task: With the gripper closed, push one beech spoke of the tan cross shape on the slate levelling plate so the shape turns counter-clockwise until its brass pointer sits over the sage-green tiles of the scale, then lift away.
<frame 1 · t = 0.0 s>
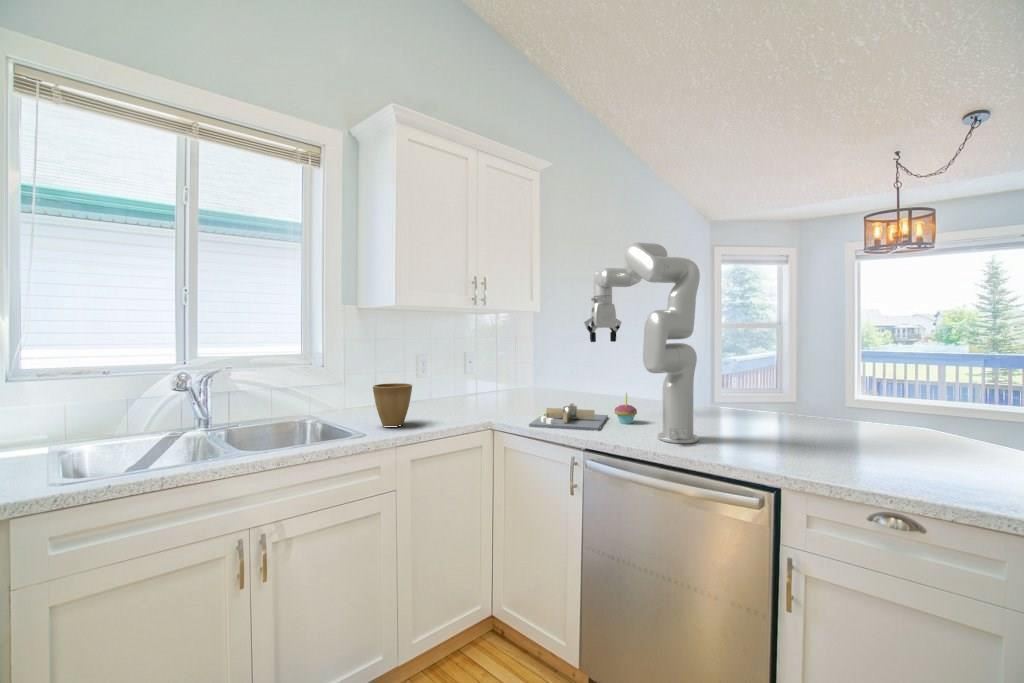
hand: (603, 341, 195), 31 cm above the worktop, tool pointing down, fingers open, 9 cm apart
plant pot: (393, 426, 181), on the worktop
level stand: (570, 421, 185), on the worktop
cupcake: (625, 423, 182), on the worktop
tan cross shape: (570, 411, 185), point 4 cm above the worktop, hinge at 0.0°
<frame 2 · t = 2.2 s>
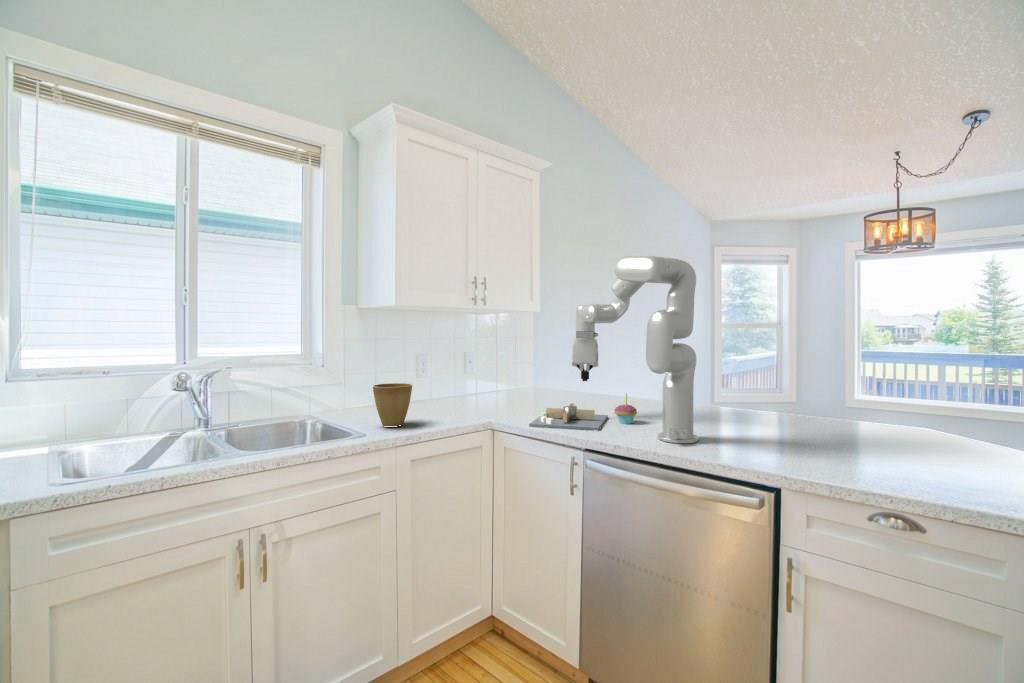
hand: (585, 380, 190), 16 cm above the worktop, tool pointing down, fingers closed
nothing on the worktop moved.
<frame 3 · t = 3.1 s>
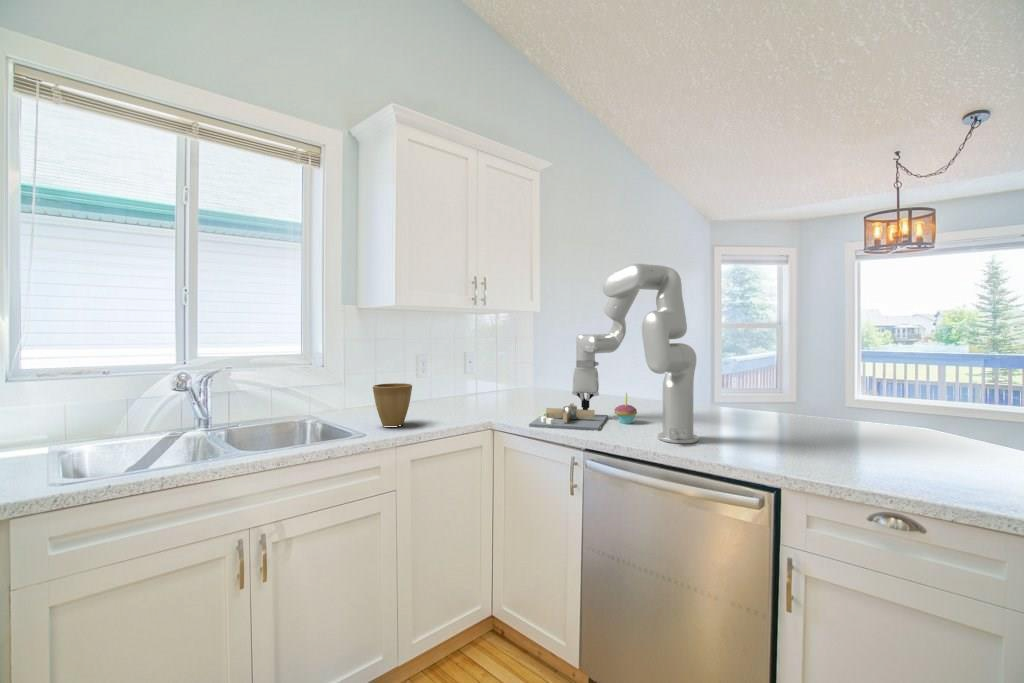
hand: (585, 409, 190), 4 cm above the worktop, tool pointing down, fingers closed
nothing on the worktop moved.
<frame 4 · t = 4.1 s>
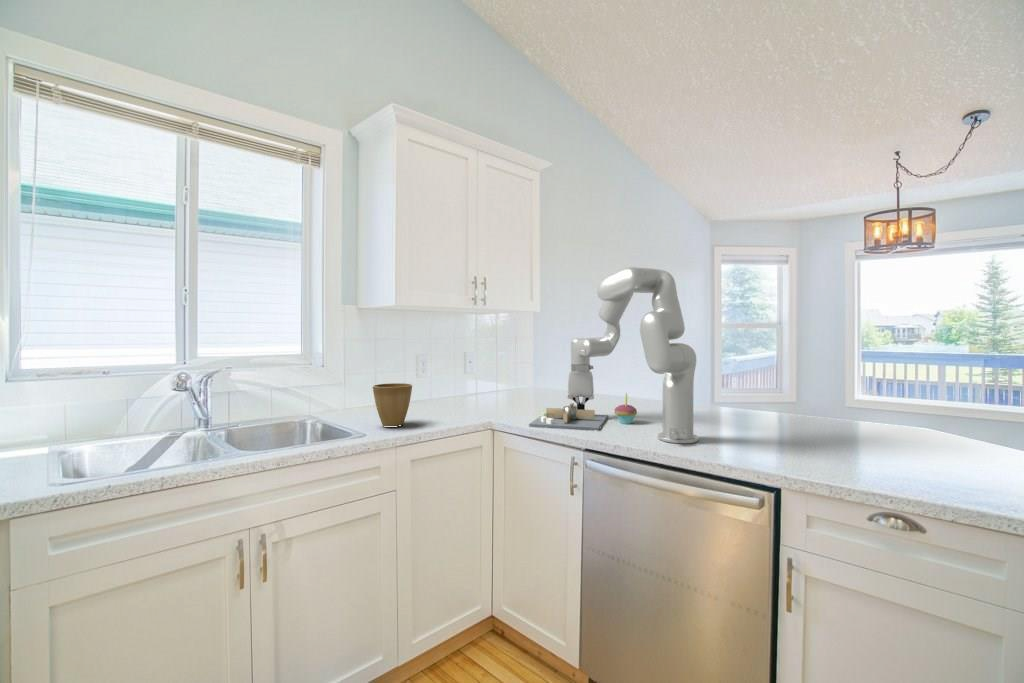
hand: (580, 413, 191), 2 cm above the worktop, tool pointing down, fingers closed
tan cross shape: (570, 411, 185), point 4 cm above the worktop, hinge at 0.6°, touching gripper
everything else where it was.
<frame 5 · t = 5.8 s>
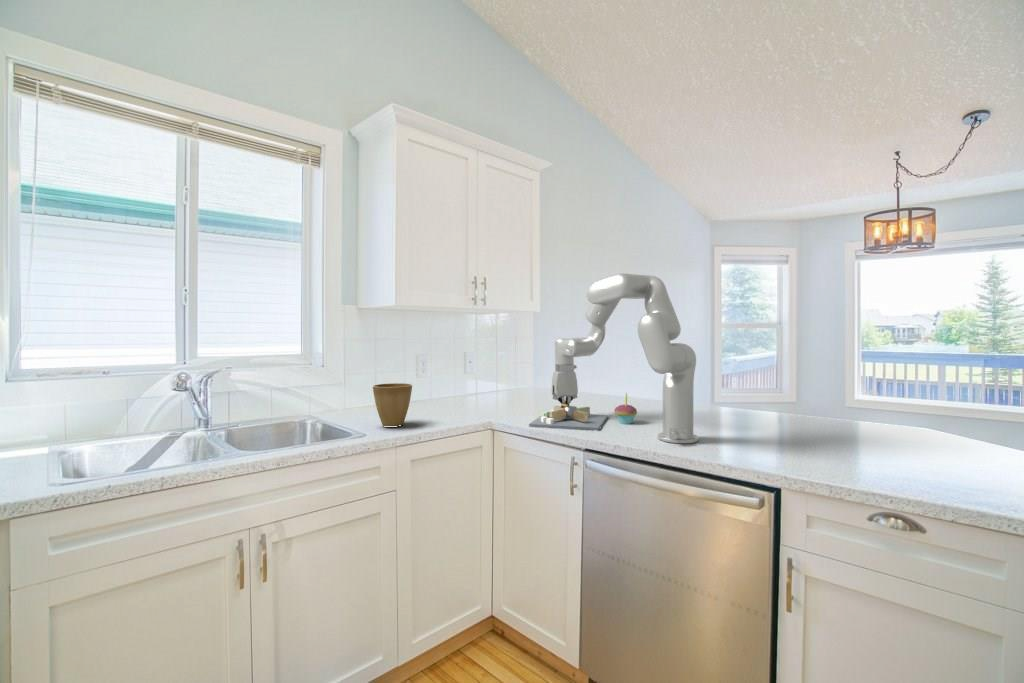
hand: (565, 413, 192), 2 cm above the worktop, tool pointing down, fingers closed
tan cross shape: (570, 411, 185), point 4 cm above the worktop, hinge at 51.0°, touching gripper
everything else where it was.
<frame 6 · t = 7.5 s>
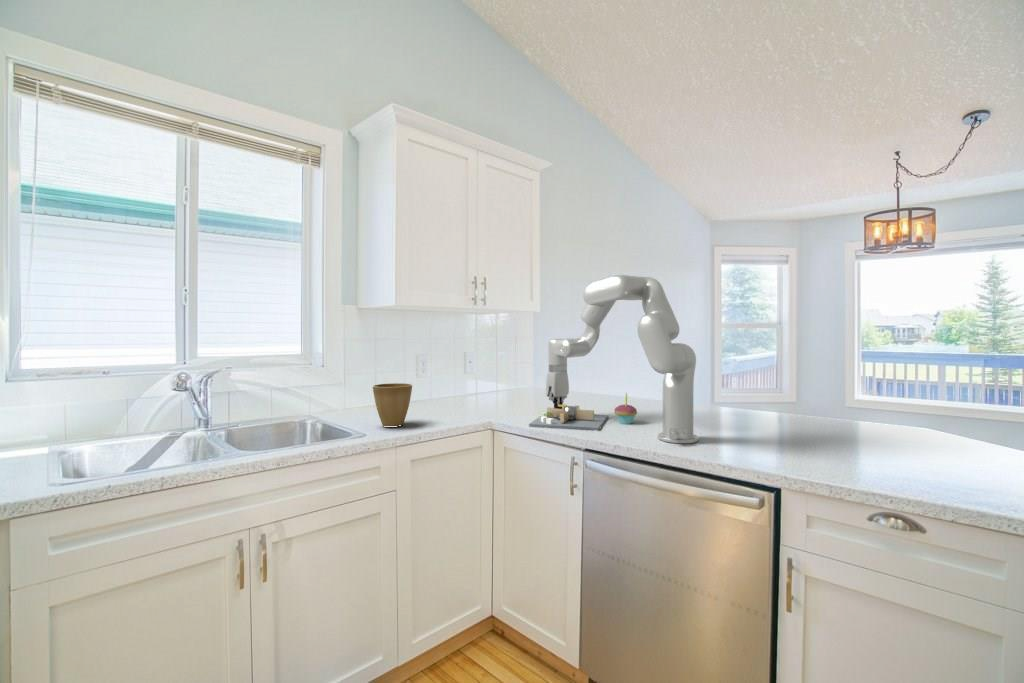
hand: (558, 413, 191), 2 cm above the worktop, tool pointing down, fingers closed
tan cross shape: (570, 411, 185), point 4 cm above the worktop, hinge at 83.1°
everything else where it was.
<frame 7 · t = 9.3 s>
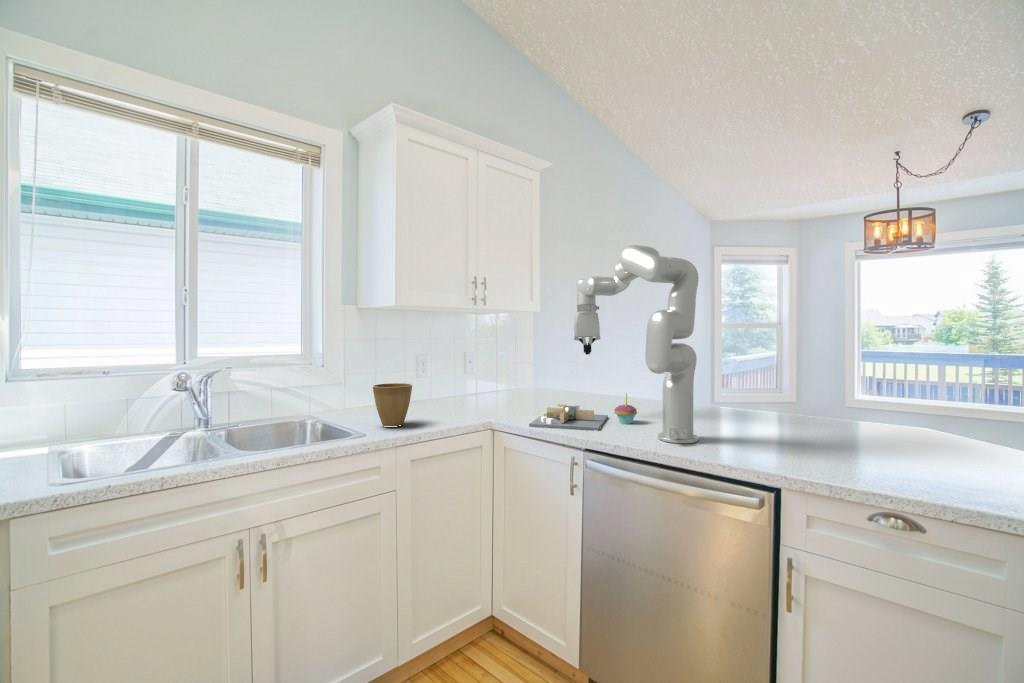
hand: (587, 354, 191), 26 cm above the worktop, tool pointing down, fingers closed
nothing on the worktop moved.
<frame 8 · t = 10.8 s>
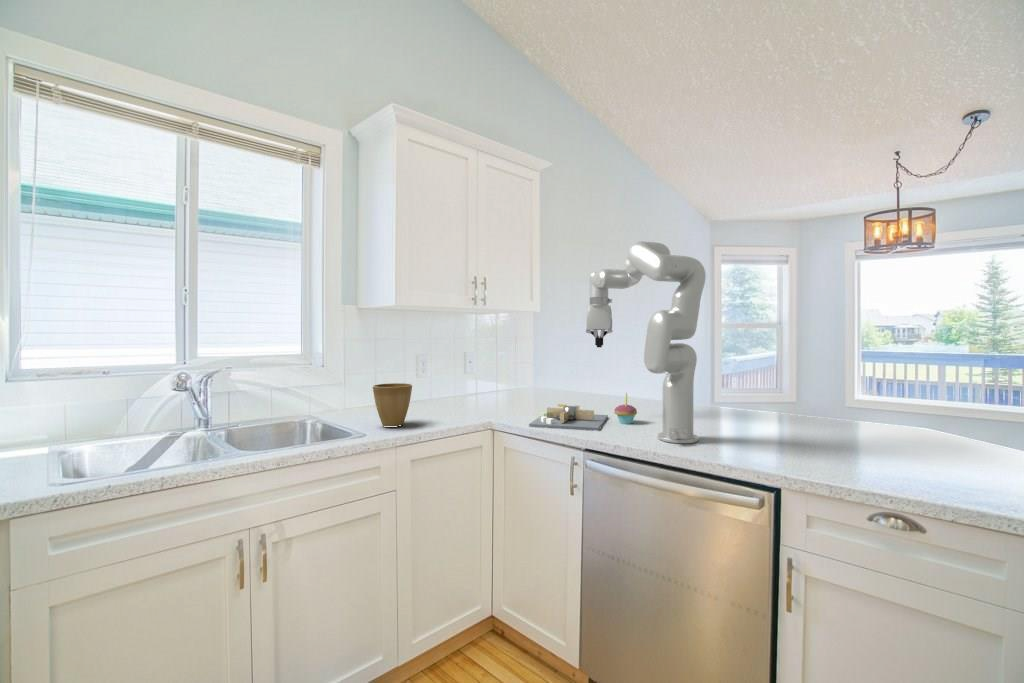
hand: (599, 347, 191), 29 cm above the worktop, tool pointing down, fingers closed
nothing on the worktop moved.
at the end: tan cross shape at +83° (first picture: +0°) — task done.
